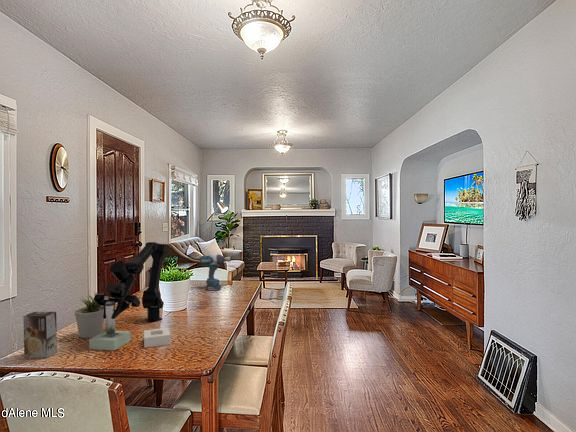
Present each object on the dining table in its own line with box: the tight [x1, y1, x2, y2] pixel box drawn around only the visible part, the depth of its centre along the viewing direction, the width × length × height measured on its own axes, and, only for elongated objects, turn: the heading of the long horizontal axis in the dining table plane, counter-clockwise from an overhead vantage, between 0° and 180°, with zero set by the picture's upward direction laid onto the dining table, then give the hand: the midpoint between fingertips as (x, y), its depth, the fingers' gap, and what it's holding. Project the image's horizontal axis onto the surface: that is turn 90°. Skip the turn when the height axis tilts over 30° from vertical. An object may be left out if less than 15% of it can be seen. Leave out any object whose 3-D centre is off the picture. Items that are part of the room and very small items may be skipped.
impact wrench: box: [198, 253, 232, 292], centre depth 250 cm, size 8×23×25 cm, turn 89°
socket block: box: [143, 327, 171, 349], centre depth 150 cm, size 10×10×4 cm
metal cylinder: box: [105, 301, 116, 335], centre depth 147 cm, size 4×4×13 cm
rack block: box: [88, 330, 132, 351], centre depth 148 cm, size 11×11×4 cm
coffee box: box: [22, 311, 58, 359], centre depth 137 cm, size 9×6×16 cm
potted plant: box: [73, 291, 105, 339], centre depth 158 cm, size 13×14×20 cm
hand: (108, 318), depth 146 cm, fingers closed on metal cylinder, 3 cm apart
